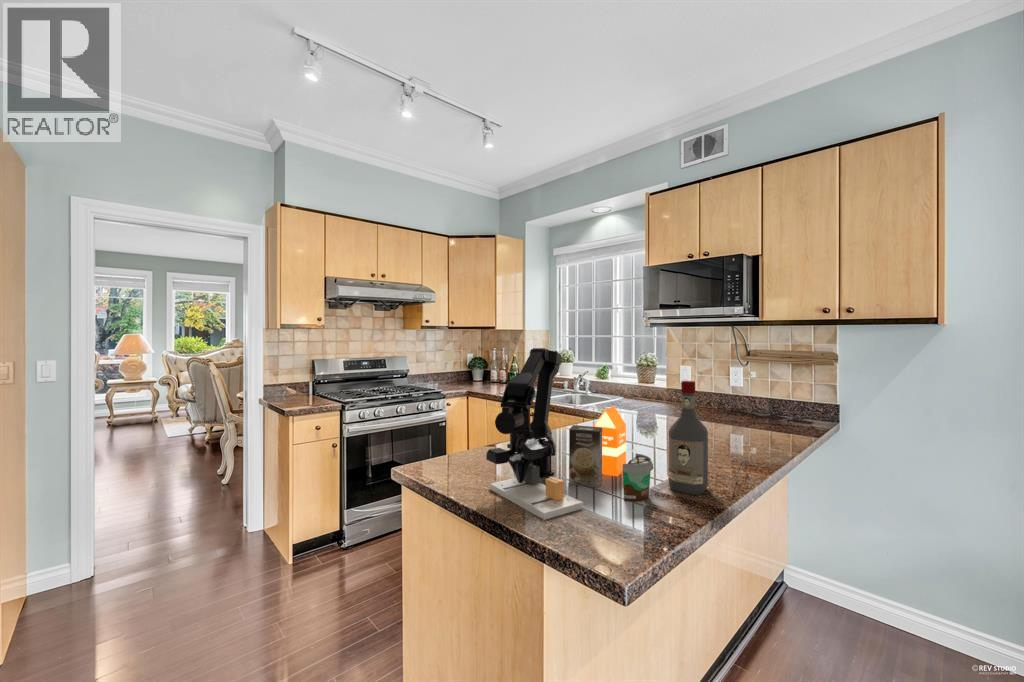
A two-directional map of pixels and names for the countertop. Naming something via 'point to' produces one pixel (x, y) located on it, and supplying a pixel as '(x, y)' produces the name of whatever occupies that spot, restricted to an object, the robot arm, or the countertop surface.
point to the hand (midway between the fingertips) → (520, 482)
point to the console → (535, 498)
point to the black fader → (532, 474)
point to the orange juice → (612, 441)
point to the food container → (637, 478)
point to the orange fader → (554, 488)
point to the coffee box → (585, 455)
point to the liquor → (688, 447)
